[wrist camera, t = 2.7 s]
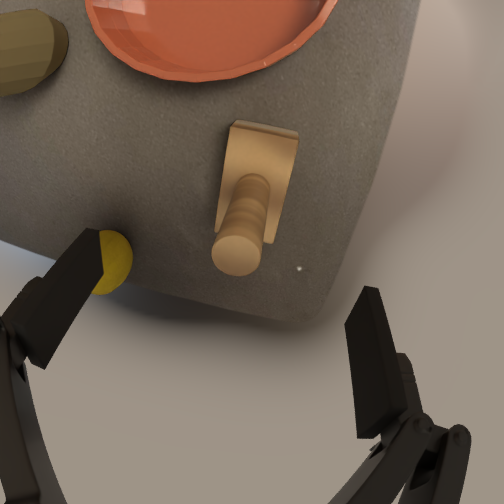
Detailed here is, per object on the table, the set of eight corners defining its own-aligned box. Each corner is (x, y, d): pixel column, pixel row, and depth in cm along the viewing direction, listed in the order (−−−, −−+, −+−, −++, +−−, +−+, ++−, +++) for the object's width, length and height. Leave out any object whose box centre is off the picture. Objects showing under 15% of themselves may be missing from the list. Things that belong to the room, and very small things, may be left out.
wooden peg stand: (236, 118, 24) (197, 166, 14) (298, 131, 24) (305, 189, 14) (220, 214, 29) (185, 306, 19) (274, 226, 29) (264, 323, 19)
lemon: (99, 253, 33) (64, 299, 27) (98, 211, 30) (56, 255, 24) (143, 266, 34) (113, 317, 27) (145, 223, 31) (109, 272, 24)
